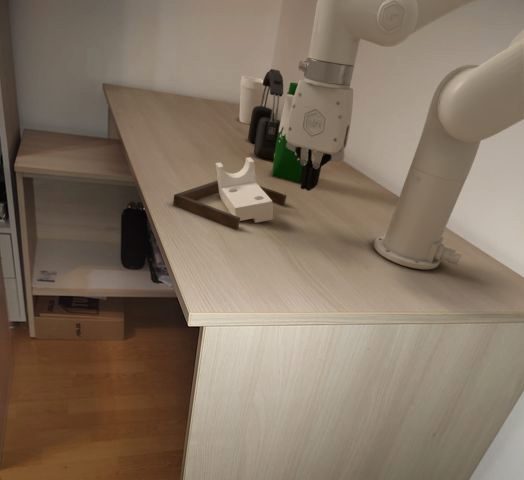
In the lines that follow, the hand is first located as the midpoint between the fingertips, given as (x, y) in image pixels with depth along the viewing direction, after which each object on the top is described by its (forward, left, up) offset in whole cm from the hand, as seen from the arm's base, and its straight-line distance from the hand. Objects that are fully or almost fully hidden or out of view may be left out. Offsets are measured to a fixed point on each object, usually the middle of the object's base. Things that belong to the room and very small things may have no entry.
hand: (307, 188), depth 89 cm
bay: (+14, +1, -8) cm, 16 cm away
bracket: (+12, +2, -8) cm, 14 cm away
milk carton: (+16, -30, -8) cm, 35 cm away
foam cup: (+52, -75, -8) cm, 91 cm away
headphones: (+32, -46, -8) cm, 56 cm away
